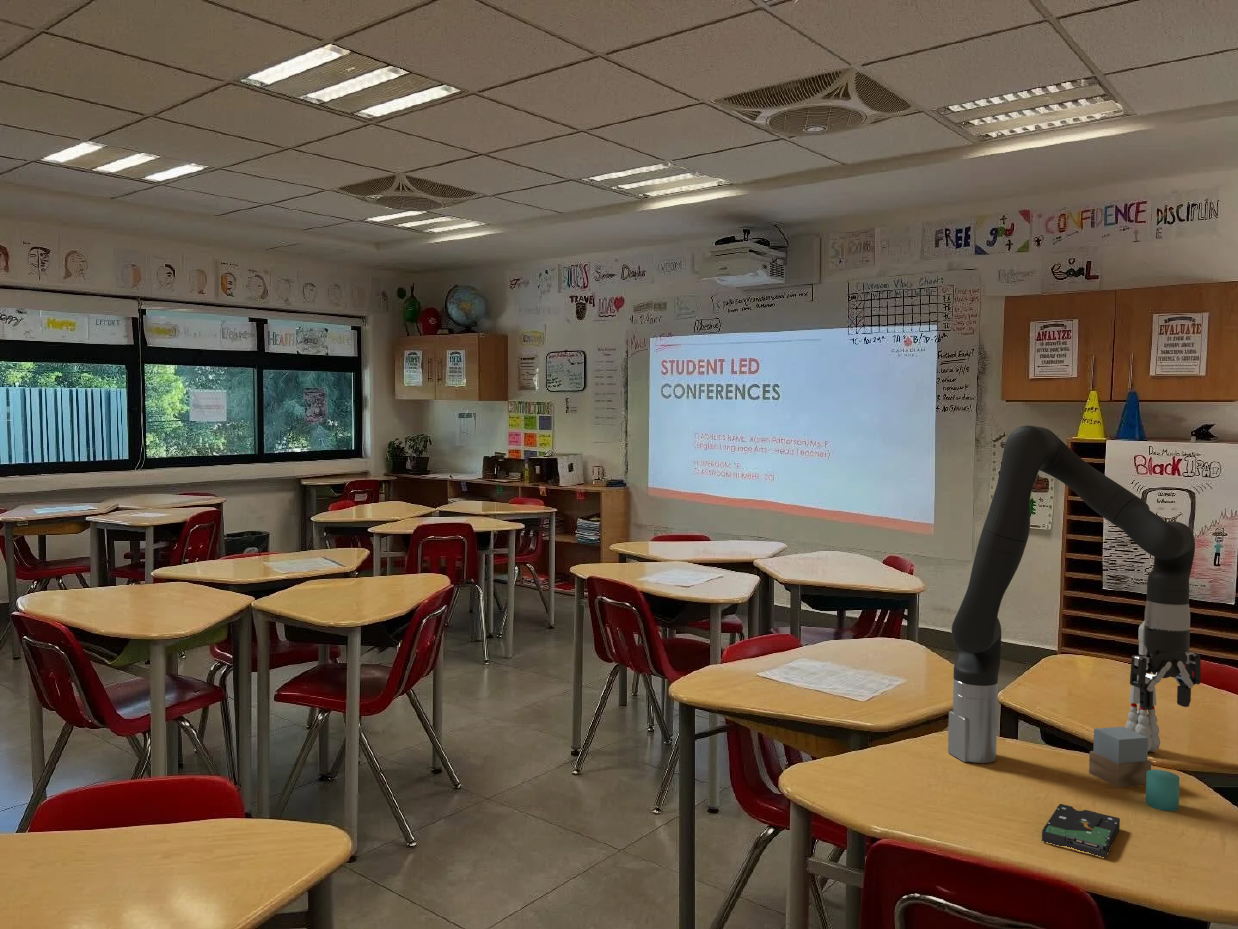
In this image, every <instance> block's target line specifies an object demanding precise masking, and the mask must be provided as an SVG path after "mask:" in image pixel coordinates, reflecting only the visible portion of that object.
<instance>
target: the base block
mask: <svg viewBox="0 0 1238 929" xmlns="http://www.w3.org/2000/svg"><path fill="white" fill-rule="evenodd" d="M1088 762H1089V763H1088V766H1089V767H1088V773H1089V774H1090V775H1092V776H1093V777H1096V778H1098V779H1100V780H1101V779H1102V780H1101V781H1103V780H1104V782H1105V781H1106V783H1107V782H1108V783H1107V784H1109V785H1112V786H1113V785H1114V786H1113V787H1115V786H1116V787H1115V788H1118V789H1121V788H1120V787H1122V788H1128V787H1129V788H1131V787H1130V786H1132V787H1140V786H1139V785H1142V786H1146V772H1147V771H1148V770H1152V761H1150V760H1148V759H1147V762H1135V763H1123V764H1117V763H1115V762H1113V761H1111V760H1109V759H1107V758H1105V757H1103V756H1101V755H1099V754H1097V753H1095V752H1093V750H1090V751H1089V760H1088Z"/></svg>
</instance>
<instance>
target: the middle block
mask: <svg viewBox="0 0 1238 929" xmlns="http://www.w3.org/2000/svg"><path fill="white" fill-rule="evenodd" d="M1092 751H1093V752H1095V753H1097V754H1099V755H1101V756H1103V757H1105V758H1107V759H1109V760H1111V761H1113V762H1115V763H1117V764H1123V763H1135V762H1147V760H1148V759H1149V758H1148V755H1149V753H1148V752H1149V751H1148V737H1146V736H1143V735H1141V734H1139V733H1136V732H1134V731H1132V730H1129V729H1127V728H1125V726H1111V727H1109V726H1108V727H1100V728H1099V727H1097V728H1093V750H1092Z"/></svg>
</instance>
